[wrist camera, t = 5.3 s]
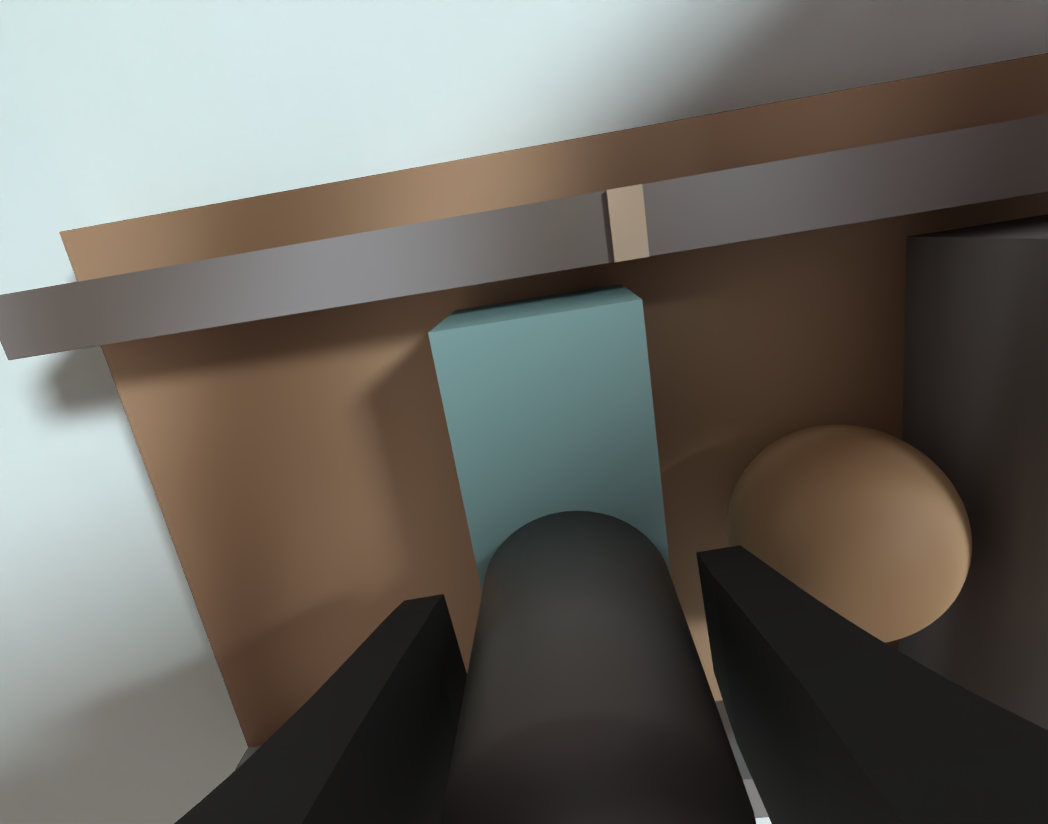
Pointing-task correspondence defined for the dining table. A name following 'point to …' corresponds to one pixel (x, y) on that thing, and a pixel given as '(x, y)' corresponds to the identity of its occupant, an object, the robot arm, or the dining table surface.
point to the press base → (674, 361)
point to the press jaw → (573, 579)
